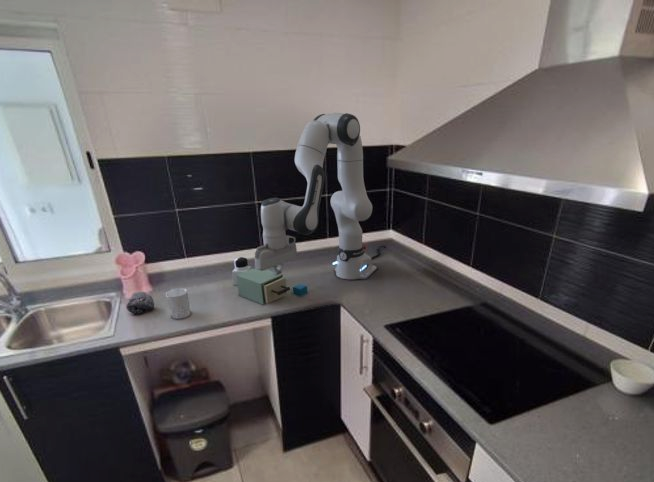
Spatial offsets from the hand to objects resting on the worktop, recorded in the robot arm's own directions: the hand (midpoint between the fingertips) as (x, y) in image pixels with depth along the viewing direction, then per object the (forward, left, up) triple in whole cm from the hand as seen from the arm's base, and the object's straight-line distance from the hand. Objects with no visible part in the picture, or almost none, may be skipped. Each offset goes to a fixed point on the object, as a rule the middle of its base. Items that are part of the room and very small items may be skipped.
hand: (277, 274), depth 156 cm
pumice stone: (+40, -41, -13) cm, 58 cm away
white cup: (+32, -24, -13) cm, 42 cm away
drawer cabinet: (0, -12, -13) cm, 17 cm away
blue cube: (-11, +1, -13) cm, 17 cm away
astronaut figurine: (-4, -29, -13) cm, 32 cm away
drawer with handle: (0, -7, -12) cm, 13 cm away
